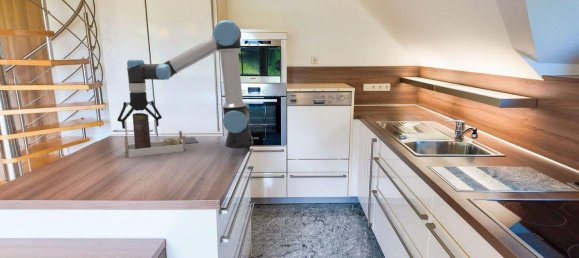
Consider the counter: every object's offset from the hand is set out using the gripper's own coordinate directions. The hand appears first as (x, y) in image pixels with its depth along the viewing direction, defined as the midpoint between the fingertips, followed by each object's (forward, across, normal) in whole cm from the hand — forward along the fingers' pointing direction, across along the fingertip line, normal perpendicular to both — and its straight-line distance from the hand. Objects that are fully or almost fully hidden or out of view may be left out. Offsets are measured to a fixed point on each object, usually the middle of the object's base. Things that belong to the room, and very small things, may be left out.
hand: (141, 133), depth 166 cm
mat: (+10, -22, -15) cm, 28 cm away
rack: (+10, -6, 0) cm, 12 cm away
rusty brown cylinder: (+10, 0, 0) cm, 10 cm away
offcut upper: (+7, -14, 0) cm, 16 cm away
